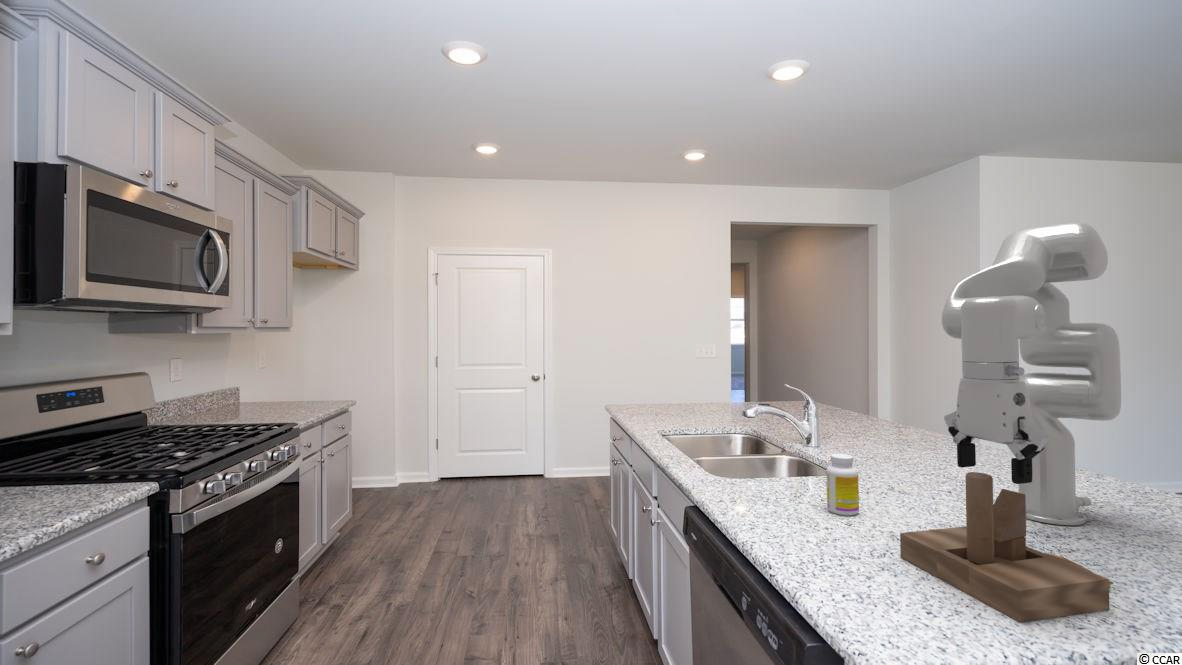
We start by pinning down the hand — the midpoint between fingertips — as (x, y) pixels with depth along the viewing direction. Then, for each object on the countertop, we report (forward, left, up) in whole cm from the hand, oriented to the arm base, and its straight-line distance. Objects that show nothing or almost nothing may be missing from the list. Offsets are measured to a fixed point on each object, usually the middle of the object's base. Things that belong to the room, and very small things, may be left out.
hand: (992, 474), depth 87 cm
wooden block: (0, 0, -18) cm, 18 cm away
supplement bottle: (+3, -35, -18) cm, 39 cm away
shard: (-15, 0, -18) cm, 24 cm away
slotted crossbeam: (+1, 0, -18) cm, 18 cm away
